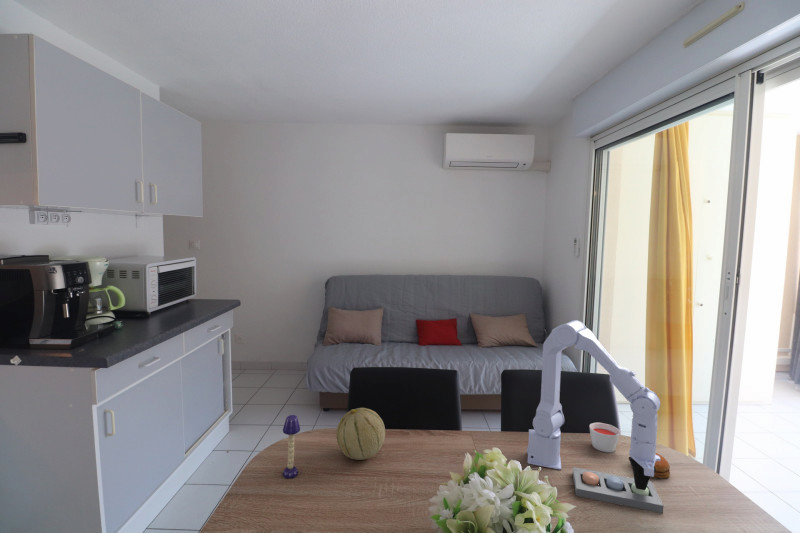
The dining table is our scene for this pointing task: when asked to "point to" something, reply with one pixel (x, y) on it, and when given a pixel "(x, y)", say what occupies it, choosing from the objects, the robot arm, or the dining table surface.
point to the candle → (604, 436)
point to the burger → (661, 468)
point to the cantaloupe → (360, 433)
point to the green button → (639, 490)
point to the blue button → (614, 483)
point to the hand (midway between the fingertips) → (640, 488)
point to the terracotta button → (590, 478)
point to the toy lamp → (291, 444)
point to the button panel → (617, 491)
